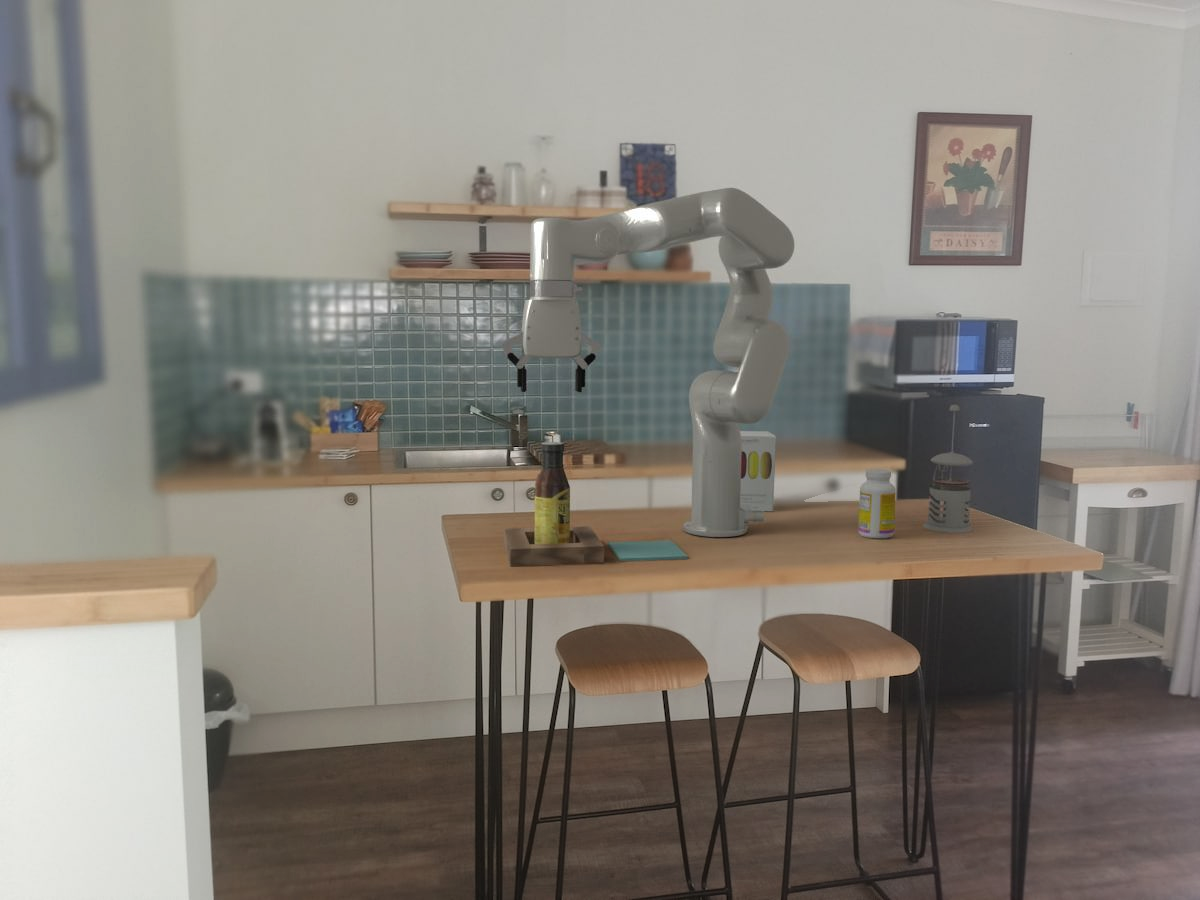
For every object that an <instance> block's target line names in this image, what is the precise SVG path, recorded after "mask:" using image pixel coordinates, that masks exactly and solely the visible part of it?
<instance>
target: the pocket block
mask: <svg viewBox="0 0 1200 900" xmlns="http://www.w3.org/2000/svg"><path fill="white" fill-rule="evenodd" d="M503 533H504V534H503V536H504V537H503V538H504V539H503V541H504V542H503V545H504V549H505V551H506V556H507V559H508V561H509V562H508V563H509V565H510V567H535V565H540V566H562V565H563V566H564V565H590V564H591V565H593V564H595V565H596V564H605V546H604V544H603V542H602V541H601V540H600V539H599V537H598V536H597V534H596V532H595V531H594V530H593V529H592V527H591V526H590V525H588V526H570V543H559V544H535V527H518V528H517V527H516V528H514V527H513V528H504V529H503Z"/></svg>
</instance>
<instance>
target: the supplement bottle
mask: <svg viewBox="0 0 1200 900" xmlns="http://www.w3.org/2000/svg"><path fill="white" fill-rule="evenodd" d="M865 477H866V481H865V482H864V483H863V482H862V484H861V485H860V487H859V488H860V489H859V505H858V506H859V507H858V509H859V510H858V534H859V535H860V536H862V537H863V538H869V539H878V540H879V539H880V540H881V539H882V540H883V539H890V538H892V537H893V536H894V533H895V517H896V515H895V514H896V513H895V511H896V493H897V492H896V487H895V485H894V484H892V483H890V481H891V477H892V471H891V470H889V469H883V468H868V469H866V470H865Z"/></svg>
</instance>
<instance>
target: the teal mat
mask: <svg viewBox="0 0 1200 900" xmlns="http://www.w3.org/2000/svg"><path fill="white" fill-rule="evenodd" d="M607 546H608V547H609V548H610V549H611V551H612V552H613V553H614V555H615V557H616V558H617V559H618V560H619V561H620V562H639V561H669V560H670V561H671V560H688V559H689V557H688V555H687V554H686V553H685V552H684V551H683V550H682V549H681V548H680V547H679V546H678V545H677V544H675V542H674V541H672V540H654V541H653V540H649V541H618V542H616V541H615V542H613V541H612V542H611V541H610V542H608V545H607Z"/></svg>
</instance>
